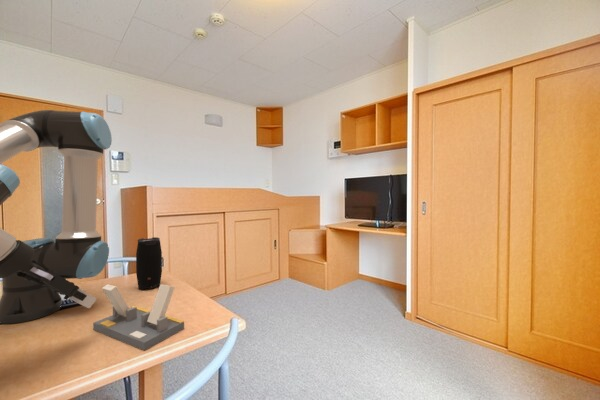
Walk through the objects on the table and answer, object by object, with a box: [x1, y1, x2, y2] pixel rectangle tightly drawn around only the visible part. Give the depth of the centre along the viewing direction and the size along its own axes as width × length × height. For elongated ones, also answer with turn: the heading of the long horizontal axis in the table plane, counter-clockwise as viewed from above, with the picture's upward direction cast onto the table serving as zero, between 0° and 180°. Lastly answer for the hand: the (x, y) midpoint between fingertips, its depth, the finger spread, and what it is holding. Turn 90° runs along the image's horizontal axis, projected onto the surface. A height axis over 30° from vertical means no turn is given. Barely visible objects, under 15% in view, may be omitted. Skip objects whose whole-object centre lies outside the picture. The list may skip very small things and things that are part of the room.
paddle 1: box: [101, 283, 130, 317], centre depth 78 cm, size 5×2×10 cm, turn 64°
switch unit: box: [92, 305, 185, 351], centre depth 77 cm, size 22×12×5 cm, turn 64°
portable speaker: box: [135, 236, 163, 291], centre depth 110 cm, size 9×9×20 cm
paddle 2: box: [147, 283, 175, 326], centre depth 76 cm, size 5×2×10 cm, turn 64°
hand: (91, 302), depth 72 cm, fingers closed
